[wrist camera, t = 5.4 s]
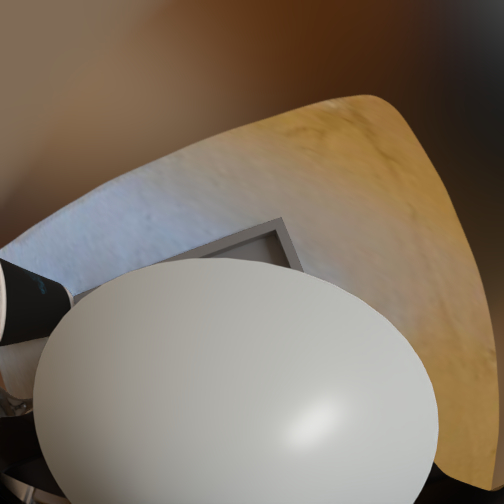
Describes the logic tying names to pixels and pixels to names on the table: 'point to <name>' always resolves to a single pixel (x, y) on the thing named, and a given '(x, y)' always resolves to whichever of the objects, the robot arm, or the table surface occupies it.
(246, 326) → the white cylinder
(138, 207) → the table surface
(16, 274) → the dixie cup
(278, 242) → the tray
